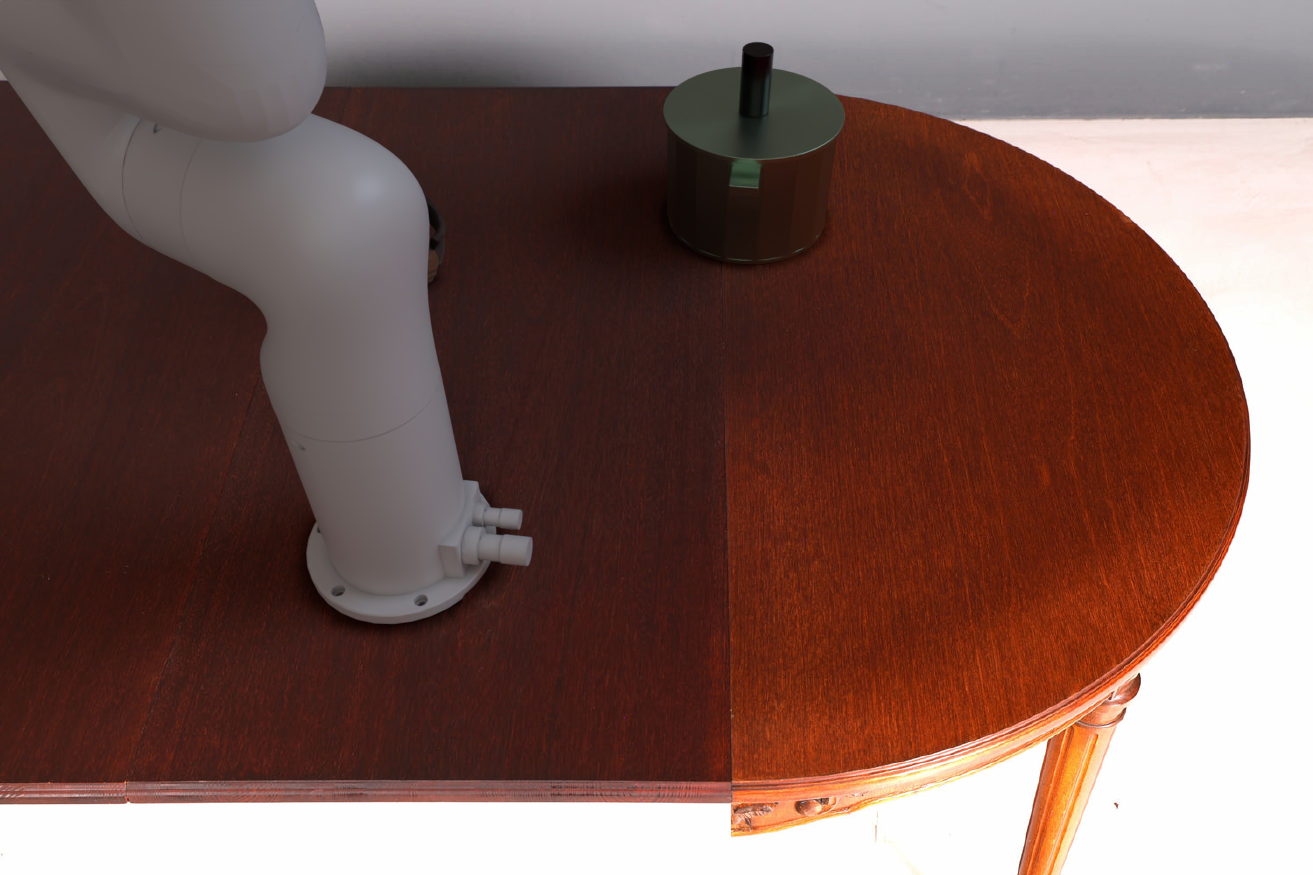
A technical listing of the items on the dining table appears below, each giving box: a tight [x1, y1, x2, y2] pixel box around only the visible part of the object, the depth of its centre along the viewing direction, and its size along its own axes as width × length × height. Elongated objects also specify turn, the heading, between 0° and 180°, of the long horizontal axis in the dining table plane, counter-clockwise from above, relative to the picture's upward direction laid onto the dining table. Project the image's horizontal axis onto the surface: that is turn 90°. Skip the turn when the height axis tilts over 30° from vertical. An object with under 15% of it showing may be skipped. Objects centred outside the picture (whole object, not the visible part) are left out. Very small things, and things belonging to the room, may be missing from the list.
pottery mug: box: [425, 196, 447, 285], centre depth 90 cm, size 12×10×8 cm
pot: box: [666, 129, 838, 266], centre depth 94 cm, size 15×20×10 cm
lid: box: [662, 41, 846, 164], centre depth 88 cm, size 16×16×7 cm
